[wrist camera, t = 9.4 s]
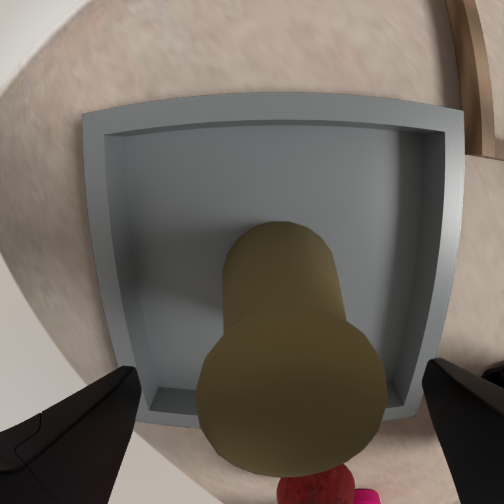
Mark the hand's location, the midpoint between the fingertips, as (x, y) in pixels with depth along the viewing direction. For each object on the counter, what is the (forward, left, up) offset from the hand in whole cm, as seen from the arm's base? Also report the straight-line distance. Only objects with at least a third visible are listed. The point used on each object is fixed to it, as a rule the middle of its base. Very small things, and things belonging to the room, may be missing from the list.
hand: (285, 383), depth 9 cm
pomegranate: (-16, -3, -9) cm, 19 cm away
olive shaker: (0, 0, -9) cm, 9 cm away
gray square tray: (0, 0, -9) cm, 9 cm away
